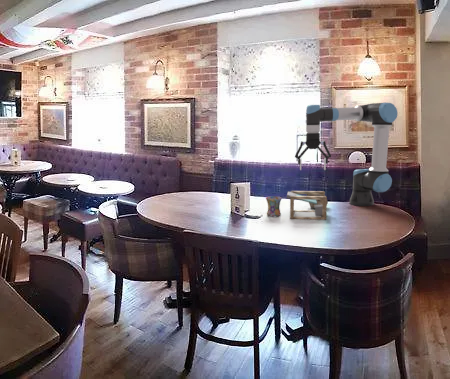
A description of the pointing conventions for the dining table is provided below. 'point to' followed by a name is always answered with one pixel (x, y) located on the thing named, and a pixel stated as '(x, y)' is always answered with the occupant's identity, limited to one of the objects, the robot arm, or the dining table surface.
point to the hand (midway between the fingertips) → (312, 169)
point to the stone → (318, 210)
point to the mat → (305, 214)
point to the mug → (273, 206)
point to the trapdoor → (301, 199)
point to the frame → (322, 198)
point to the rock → (316, 200)
